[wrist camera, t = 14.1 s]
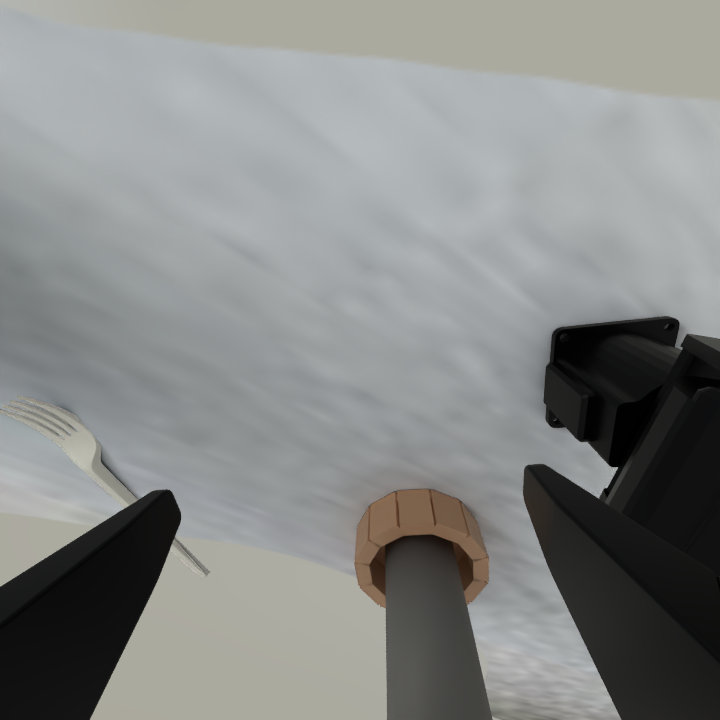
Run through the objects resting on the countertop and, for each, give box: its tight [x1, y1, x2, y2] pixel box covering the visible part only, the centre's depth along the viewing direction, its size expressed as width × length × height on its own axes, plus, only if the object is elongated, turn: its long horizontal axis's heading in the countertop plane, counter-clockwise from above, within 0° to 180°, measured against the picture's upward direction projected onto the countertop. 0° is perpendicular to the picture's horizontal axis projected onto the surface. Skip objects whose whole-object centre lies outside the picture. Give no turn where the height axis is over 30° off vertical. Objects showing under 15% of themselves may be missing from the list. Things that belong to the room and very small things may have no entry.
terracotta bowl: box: [355, 489, 489, 608], centre depth 25 cm, size 9×9×3 cm
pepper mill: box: [385, 534, 492, 720], centre depth 20 cm, size 5×5×13 cm
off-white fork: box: [0, 396, 210, 578], centre depth 26 cm, size 3×20×2 cm, turn 28°
